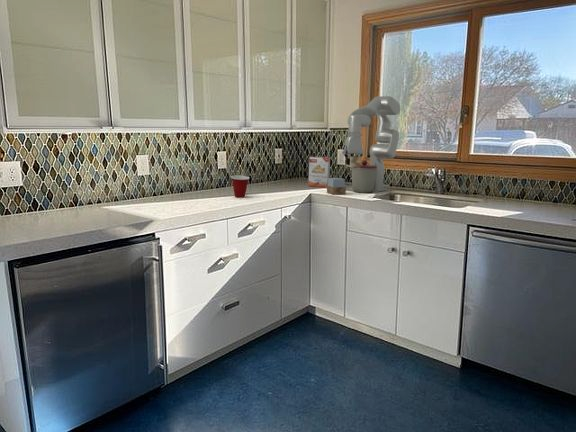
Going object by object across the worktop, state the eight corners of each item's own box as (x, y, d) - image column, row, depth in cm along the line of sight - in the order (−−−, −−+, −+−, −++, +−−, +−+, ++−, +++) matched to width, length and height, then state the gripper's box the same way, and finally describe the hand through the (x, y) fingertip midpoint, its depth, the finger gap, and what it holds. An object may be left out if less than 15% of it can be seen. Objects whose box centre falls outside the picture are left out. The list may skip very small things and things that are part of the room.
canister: (369, 190, 304) (371, 159, 300) (381, 193, 287) (383, 161, 282) (344, 190, 299) (346, 159, 295) (355, 194, 282) (357, 161, 278)
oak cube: (354, 165, 276) (354, 156, 274) (359, 166, 270) (359, 157, 269) (346, 166, 273) (346, 156, 272) (350, 166, 268) (351, 157, 267)
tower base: (339, 192, 287) (339, 185, 286) (345, 195, 279) (346, 187, 278) (326, 193, 284) (327, 185, 283) (332, 195, 276) (333, 187, 275)
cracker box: (308, 186, 313) (309, 156, 309) (310, 185, 319) (311, 156, 315) (327, 187, 309) (328, 157, 305) (329, 186, 315) (330, 157, 311)
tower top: (339, 185, 285) (339, 177, 284) (344, 187, 278) (345, 179, 277) (328, 185, 283) (328, 177, 282) (333, 187, 275) (333, 179, 274)
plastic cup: (235, 198, 249) (236, 177, 247) (227, 196, 258) (227, 175, 255) (252, 197, 255) (253, 177, 252) (243, 195, 264) (244, 175, 261)
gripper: (363, 135, 275) (361, 164, 278) (339, 134, 268) (337, 164, 272) (369, 135, 268) (367, 165, 271) (344, 135, 261) (343, 165, 265)
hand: (352, 164), depth 272 cm, fingers closed on oak cube, 6 cm apart
